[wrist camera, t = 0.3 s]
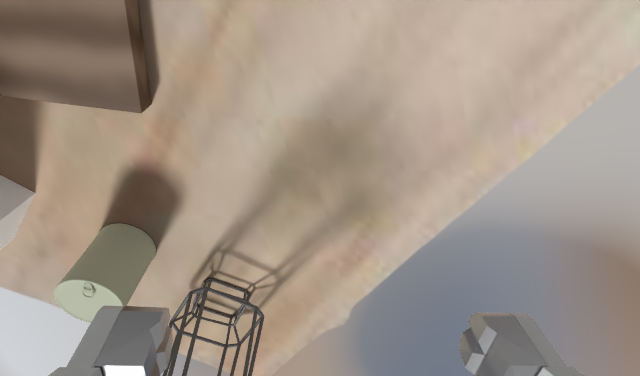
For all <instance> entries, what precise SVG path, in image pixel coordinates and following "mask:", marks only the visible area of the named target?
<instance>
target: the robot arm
mask: <svg viewBox="0 0 640 376" xmlns="http://www.w3.org/2000/svg"><path fill="white" fill-rule="evenodd" d="M169 320H170V313H169V308H158V307H135V306H103V307H102V308H100V309H99V310H98V311H97V313H96V315H95V317H94V319H93V320H92V322H91V324H90V326H89V327H88V329H87V331H86V333H85V335H84V337H83V338H82V340H81V342H80V344H79V345H78V347H77V349H76V351H75V353H74V354H73V356H72V358H71V360H70V362H69V363H68V365H67V367H60V368H58V369H57V370H55V371H54V372H53V373H51V374H50V375H49V376H160V374H161V373H162V372H163V371H164V370H165V369H167V367H168V363H169V360H170V356H171V350H172V342H173V334H172V329H171V328H170V327H169V326H168V323H169ZM468 322H469V324H470V326H471V327H470V328H469V329H467V330H466V331H464V332H463V334H462V337H461V339H460V354H461V358H462V360H463V363H464V365H465V367H466V368H467V369H468V370H469V371H470V372H471V373H472V374H473V375H474V376H584V375H583V374H582V373H580V372H579V371H577V370H576V369H574V368H573V367H567V366H566V364H565V363H564V362H563V360H562V359H561V357H560V356H559V355H558V353H557V352H556V350H555V349H554V348H553V346H552V345H551V343H550V342H549V341H548V339H547V338H546V336H545V335H544V333H543V332H542V331H541V329H540V328H539V326H538V325H537V323H536V322H535V321H534V319H533V318H532V317H531V316H530V315H528V314H523V313H522V314H521V313H520V314H519V313H475V314H473V315H471V317H470V319H469V321H468Z"/></svg>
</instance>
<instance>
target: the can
mask: <svg viewBox="0 0 640 376" xmlns="http://www.w3.org/2000/svg"><path fill="white" fill-rule="evenodd" d="M155 255H156V247H155V244H154V242H153V240H152V239H151V238H150V237H149V236H148V235H147V234H146V233H145V232H144V231H142V230H140V229H139V228H136V227H134V226H131V225H128V224H121V223H116V224H110V225H107V226H105V227H103V228H102V229H101V230H100V231H99V233H98V235H97V236H96V238H95V239H94V241H93V242H92V243H91V244H90V246H89V247H88V248H87V250H86V251H85V252H84V253H83V255H82V256H81V257H80V258H79V260H78V261H77V262H76V263H75V265H74V266H73V267H72V268H71V270H70V271H69V272H68V273H67V275H66V276H65V277H64V278H63V279H62V281H61V282H60V283H59V284H58V285H57V286H56V287H55V289H54V298H55V301H56V302H57V304H58V305H59V306H60V307H61V308H62V309H63V310H64V311H65V312H67V313H68V314H70V315H71V316H73V317H75V318H77V319H80V320H83V321H87V322H92V320H93V319H94V317H95V315H96V313H97V311H98V310H99V309H100V308H102V307H103V306H127V304H128V302H129V300H130V298H131V296H132V294H133V293H134V291H135V289H136V287H137V285H138V284H139V282H140V280H141V278H142V276H143V275H144V273H145V271H146V269H147V268H148V266H149V264H150V262H151V261H152V260H153V259H154V257H155Z"/></svg>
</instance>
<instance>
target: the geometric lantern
mask: <svg viewBox="0 0 640 376" xmlns="http://www.w3.org/2000/svg"><path fill="white" fill-rule="evenodd" d="M208 281H209V284H208V287H205V285H206V282H208ZM211 281H212V282H215V283H218V284H221V285H224V286H227V287H230V288H232V289H235V290H238V291H241V292H244V298H243V299H242V298H239V297H236V296H233V295H230V294H227V293H223V292H220V291H217V290H214V289H212V288H210V285H211ZM208 291H210V292H212V293H215V294H217V295H220V296H222V297H225V298H227V299H230V300H233V301H235V302H238V303H240V304H242V306H241V307H240V309H239V310H238V312H237V314H236V315H234V316H231V317H230V316H227V315H224V314H221V313H218V312H215V311H212V310H209V309H206V308H204V304H205V300H206V296H207V292H208ZM200 292H201V293H200ZM203 292H204V294H203ZM195 293H198V294H197V296H196V298H195V300H194V302H193V304H194V305H193V308H192V311H191V312H189V313H188V311H189V307H190V302H191V298H192V294H195ZM199 294H200V295H199ZM202 294H203V298H202V302H201V306H198V305H197V304H198V302H199V300H200V298H201V296H202ZM246 295H247V298H246ZM198 296H199V297H198ZM249 296H250V295H249V294H248V293H247V292H246V291H245V290H242V289H239V288H236V287H233V286H230V285H228V284H225V283H222V282H219V281H216V280H213V279H207V280H205V281H203V284H202V286H201V288H199V289H195V290H192V291H190V292H189V294H188V295H187V297H186V298H185V300H184V301H183V303H182V304H181V306H180V307H179V309H178V310H177V312H176V313H175V315H174V316H173V318H172V319H171V321H170V323H169V327H170V328H172V326H173V328H174V329H175V331H176V332H177V335H176V338H175V340H174V343H173V346H172V350H171V356H170V360H169V363H168V367H167V369H165V370H164V373H163V376H166V375H167V372H168V369H169V366H170V369H169V373H168V376H172V374H173V370H174V366H175V362H176V358H177V354H178V350H179V346H180V342H181V338H182V334H183V335H186V336H189V337H192V340H191V343H190V347H189V351H188V355H187V359H186V362H185V366H184V370H183V374H182V376H186V375H187V371H188V367H189V363H190V359H191V355H192V351H193V347H194V343H195V339H199V340H202V341H205V342H208V343H212V344H215V345H218V346H221V347H224V350H223V354H222V358H221V362H220V367H219V371H218V375H217V376H221V371H222V367H223V363H224V359H225V355H226V350H227V348H230V347H237V350H236V354H235V357H234V361H233V365H232V369H231V373H230V376H233V375H234V370H235V366H236V362H237V358H238V354H239V350H240V346H241V344H242V343H243V342H244V341H245V339H246V338H247V337H248V336H249V335H250V338H249V344H248V350H247V355H246V361H245V367H244V372H243V376H247V371H248V365H249V359H250V353H251V347H252V342H253V336H254V330H255V328H256V326H257V325H258V324H259V323H260V324H259V329H258V333H257V338H256V342H255V346H254V351H253V355H252V360H251V364H250V369H249V373H248V376H252V372H253V367H254V362H255V358H256V353H257V348H258V344H259V339H260V335H261V330H262V325H263V321H264V315H263V313H262V312H261V310H260V309H259V308H258V307H257V306H255V305H252V304H251V303H250V302H248V301H249ZM197 298H198V299H197ZM196 300H197V301H196ZM195 302H196V303H195ZM186 303H187V304H186ZM185 304H186V308H185V312H184V315H183V316H181V317H179V318H177V319H176V317H177V316H178V314H179V313H180V311H181V310H182V308H183V307H184V306H185ZM244 305H245V306H244ZM243 306H244V307H243ZM246 306H248V307H250V308H252V309H253V310H254V315H253V321H252V327H251V329H250V330H249V331H248V332H247V334H246V335H245V336H244V337H243V338H242V340H241V341H239V337H238V334H237V330H236V326H235V325H236V323H237V321H238V320H239V318H240V316H241V315H242V313H243V311H244V310H245V308H246ZM196 307H197V309H196V312H195V314H194V310H195V308H196ZM242 308H243V309H242ZM241 309H242V311H241ZM198 310H199V313H198ZM203 310H205V311H208V312H211V313H214V314H217V315H221V316H224V317H227V318H230V321H229V324H227V323H223V322H219V321H215V320H212V319H208V318H204V317H201V316H202V312H203ZM240 311H241V312H240ZM197 313H198V316H197ZM239 313H240V314H239ZM190 314H192V315H193V316H192V317H191V318H190V319H189V320H188V322H187V323H186V319H187V316H188V315H190ZM238 314H239V316H238ZM257 314H258V315H259V316H260V318H259V319H258V321H257V322H256V317H257ZM237 316H238V318H237ZM194 317H195V318H197V321H196V324H195V328H194V332H193V334H191V333H187V332H184V331H183V330H184V328H185V327H186V326H187V324H188V323H189V322H190V321H191V320H192V319H193V318H194ZM182 318H183V319H182ZM232 318H235V321H234V324H231V322H232ZM179 319H182V323H181V327H180V330H179V329H178V327H177V326H176V325H175V323H174V322H175V321H177V320H179ZM201 319H203V320H207V321H211V322H215V323H218V324H222V325H226V326H229V327H228V333H227V339H226V344H222V343H219V342H216V341H213V340H210V339H207V338H203V337H200V336H197V332H198V328H199V324H200V320H201ZM185 323H186V324H185ZM231 326H233V327H234V331H235V334H236V338H237V342H238V343H237V344H228V339H229V334H230V328H231ZM171 360H172V361H171ZM170 363H171V365H170Z"/></svg>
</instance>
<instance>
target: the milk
mask: <svg viewBox="0 0 640 376" xmlns="http://www.w3.org/2000/svg"><path fill="white" fill-rule="evenodd" d="M34 195H35V193H34V192H32V191H31V190H29V189H27V188H25V187H23V186H21V185H19V184H17V183H15V182H13V181H11V180H9V179H7V178H5V177H3V176H1V175H0V250H1V249H2V248H4V247H5V246H6V245H7V244H8V243H10V242H11V241H12V240H13V239H14V238H15V236H16V234H17V232H18V230H19V228H20V226H21V223H22V221H23V219H24V217H25V215H26V213H27V211H28V208H29V206H30V204H31V202H32V200H33V198H34Z"/></svg>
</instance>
